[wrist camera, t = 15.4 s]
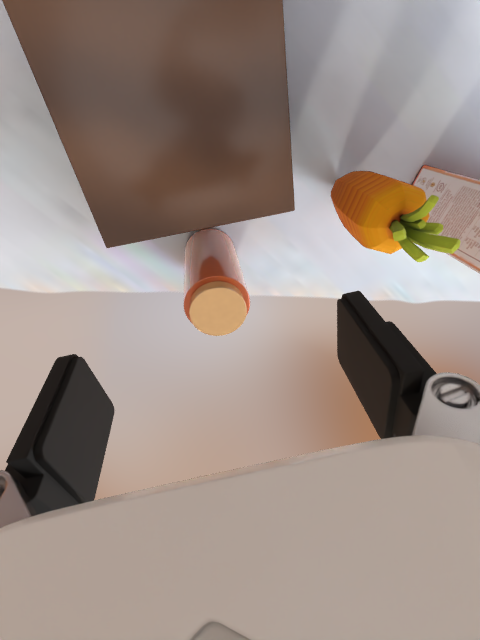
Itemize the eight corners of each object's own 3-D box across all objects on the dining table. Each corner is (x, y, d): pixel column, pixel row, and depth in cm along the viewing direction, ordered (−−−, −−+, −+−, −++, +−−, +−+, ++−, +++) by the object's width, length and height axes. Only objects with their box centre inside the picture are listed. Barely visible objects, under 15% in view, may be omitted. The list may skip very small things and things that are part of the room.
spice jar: (230, 223, 31) (247, 276, 23) (238, 269, 34) (256, 332, 25) (178, 233, 31) (175, 290, 22) (191, 279, 34) (192, 345, 25)
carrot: (300, 190, 31) (375, 255, 18) (340, 143, 29) (452, 181, 16) (335, 222, 33) (422, 299, 21) (373, 179, 31) (495, 237, 19)
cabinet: (35, -31, 21) (-37, -89, 14) (247, -71, 21) (274, -145, 14) (124, 214, 30) (106, 248, 23) (271, 184, 30) (295, 210, 23)
